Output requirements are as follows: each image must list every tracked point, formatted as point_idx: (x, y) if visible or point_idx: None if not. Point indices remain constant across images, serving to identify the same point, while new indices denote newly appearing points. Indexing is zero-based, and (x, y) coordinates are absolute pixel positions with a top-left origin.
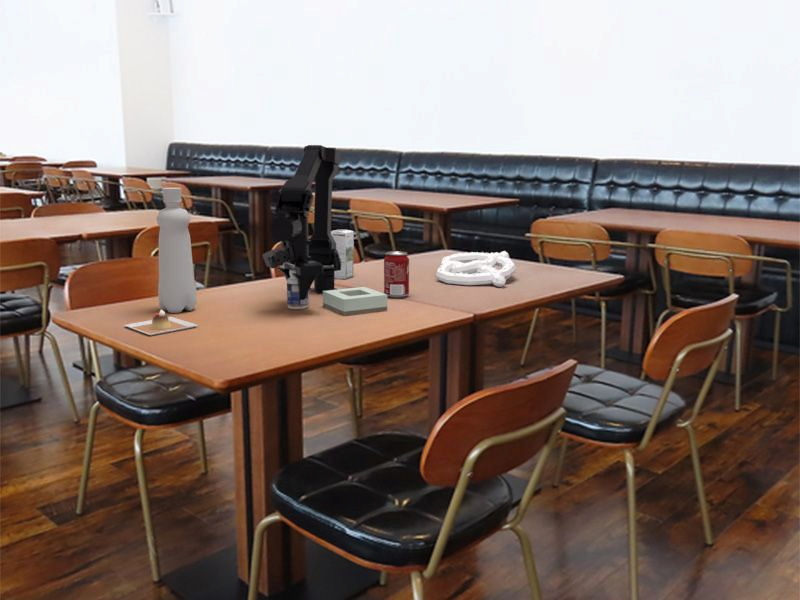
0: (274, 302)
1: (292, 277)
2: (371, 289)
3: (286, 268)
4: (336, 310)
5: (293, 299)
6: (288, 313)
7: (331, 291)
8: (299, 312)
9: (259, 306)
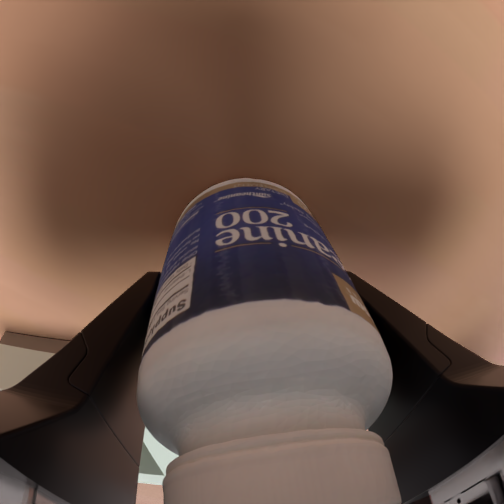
0: (451, 188)
1: (245, 418)
2: (154, 483)
3: (497, 446)
4: (58, 346)
5: (190, 226)
6: (104, 118)
7: None
8: (103, 194)
9: (423, 55)
